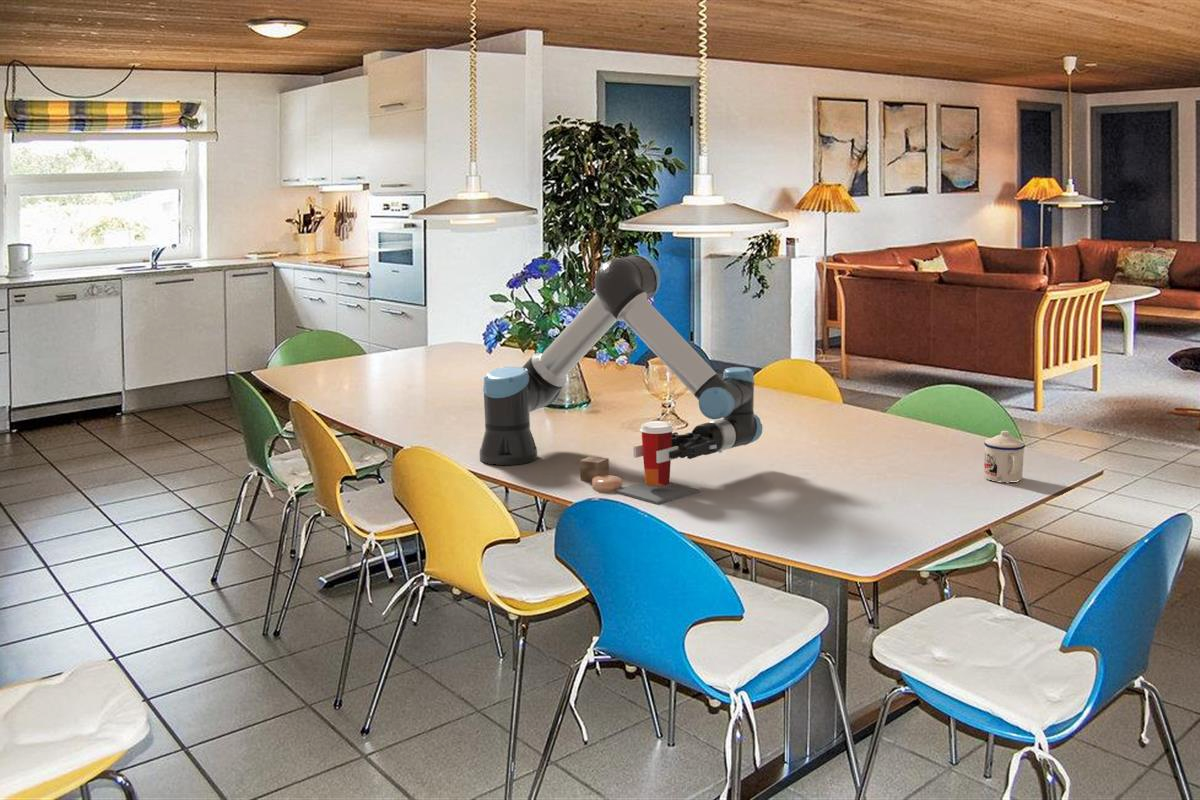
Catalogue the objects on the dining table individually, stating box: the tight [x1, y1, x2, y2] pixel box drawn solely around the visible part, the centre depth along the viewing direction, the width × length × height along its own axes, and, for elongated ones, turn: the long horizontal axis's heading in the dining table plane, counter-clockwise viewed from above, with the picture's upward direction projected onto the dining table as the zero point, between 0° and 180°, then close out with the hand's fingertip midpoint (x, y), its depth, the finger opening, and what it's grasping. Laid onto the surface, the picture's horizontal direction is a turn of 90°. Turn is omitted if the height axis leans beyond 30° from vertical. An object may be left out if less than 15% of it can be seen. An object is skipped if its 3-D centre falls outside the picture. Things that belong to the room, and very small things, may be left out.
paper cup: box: [639, 420, 674, 486], centre depth 260 cm, size 8×8×14 cm
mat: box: [614, 480, 700, 505], centre depth 262 cm, size 14×14×1 cm
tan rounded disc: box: [591, 474, 623, 493], centre depth 266 cm, size 7×7×2 cm
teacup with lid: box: [983, 430, 1026, 482], centre depth 265 cm, size 12×9×12 cm
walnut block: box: [579, 455, 610, 483], centre depth 273 cm, size 5×5×5 cm
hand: (646, 454), depth 257 cm, fingers closed on paper cup, 7 cm apart
